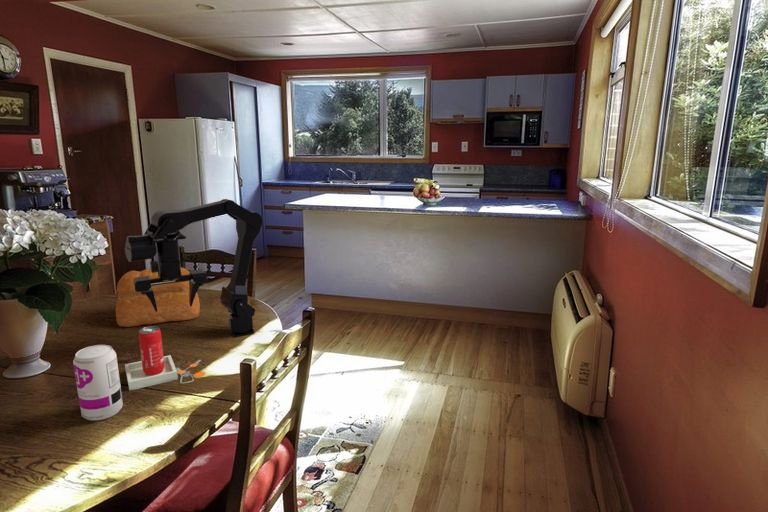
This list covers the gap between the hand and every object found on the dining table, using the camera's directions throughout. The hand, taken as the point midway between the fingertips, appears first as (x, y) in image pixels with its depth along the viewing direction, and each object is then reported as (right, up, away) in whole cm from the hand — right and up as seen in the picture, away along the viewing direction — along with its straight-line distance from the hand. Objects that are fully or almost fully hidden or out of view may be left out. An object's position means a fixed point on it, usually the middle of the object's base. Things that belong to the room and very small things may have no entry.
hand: (173, 308), depth 137 cm
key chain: (+9, -16, -9) cm, 21 cm away
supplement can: (-4, -21, -28) cm, 35 cm away
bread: (-17, -6, +29) cm, 34 cm away
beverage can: (0, -16, -11) cm, 19 cm away
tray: (-1, -16, -12) cm, 20 cm away
